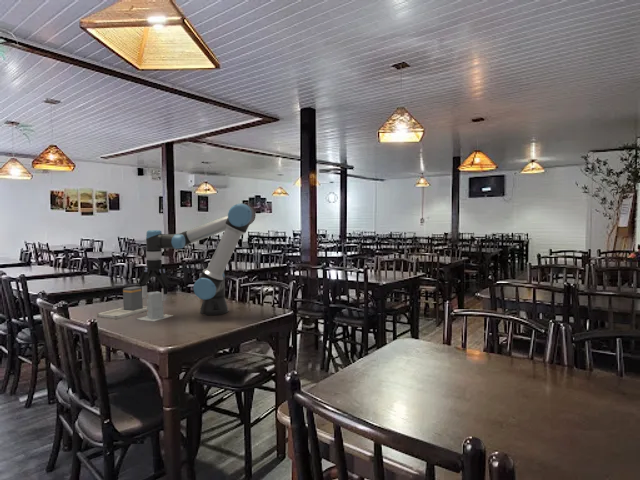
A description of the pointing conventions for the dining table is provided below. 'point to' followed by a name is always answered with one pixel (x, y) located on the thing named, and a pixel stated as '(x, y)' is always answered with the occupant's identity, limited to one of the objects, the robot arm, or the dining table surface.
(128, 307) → the twin block
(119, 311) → the beige rectangular board
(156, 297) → the small box
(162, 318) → the mat
